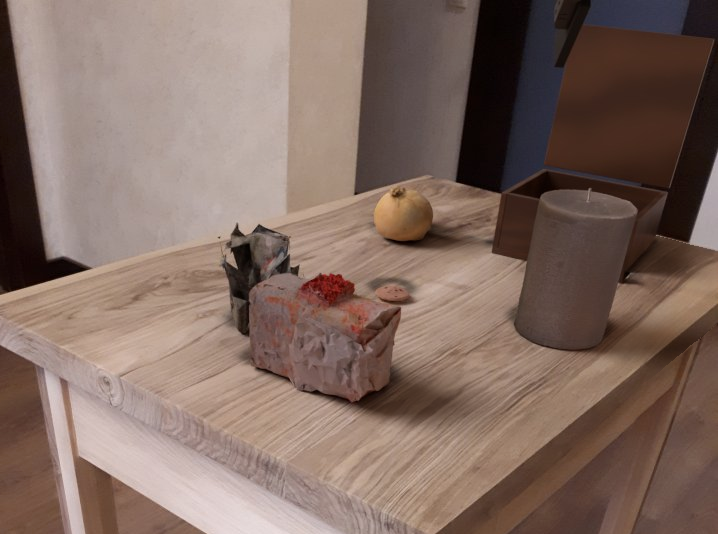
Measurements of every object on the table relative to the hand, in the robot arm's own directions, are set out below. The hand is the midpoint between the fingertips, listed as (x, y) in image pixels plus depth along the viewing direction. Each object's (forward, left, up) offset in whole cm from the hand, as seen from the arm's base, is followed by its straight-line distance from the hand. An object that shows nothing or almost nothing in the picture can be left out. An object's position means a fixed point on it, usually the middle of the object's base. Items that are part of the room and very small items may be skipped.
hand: (640, 59), depth 65 cm
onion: (+31, -23, -27) cm, 47 cm away
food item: (+18, +19, -27) cm, 38 cm away
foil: (+31, +9, -27) cm, 42 cm away
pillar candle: (+3, -6, -27) cm, 28 cm away
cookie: (+22, -3, -27) cm, 35 cm away
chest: (+10, -34, -27) cm, 45 cm away
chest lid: (+10, -43, -10) cm, 45 cm away
